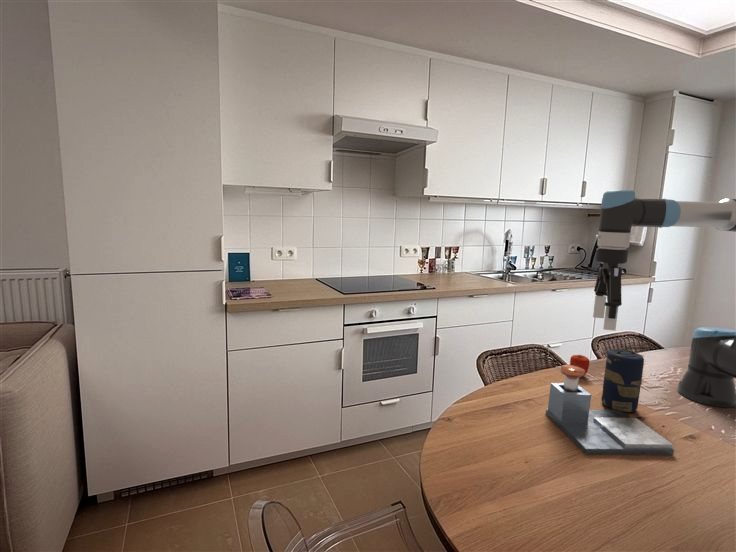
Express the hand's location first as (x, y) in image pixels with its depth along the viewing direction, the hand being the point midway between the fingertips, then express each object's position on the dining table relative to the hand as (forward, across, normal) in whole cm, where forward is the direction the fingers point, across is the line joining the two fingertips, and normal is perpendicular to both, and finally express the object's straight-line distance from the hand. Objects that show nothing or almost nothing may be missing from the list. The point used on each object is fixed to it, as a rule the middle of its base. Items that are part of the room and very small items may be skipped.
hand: (603, 323), depth 116 cm
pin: (+20, +8, -8) cm, 23 cm away
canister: (+27, -8, +8) cm, 30 cm away
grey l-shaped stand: (+27, +11, +1) cm, 29 cm away
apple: (+27, -30, +1) cm, 41 cm away
